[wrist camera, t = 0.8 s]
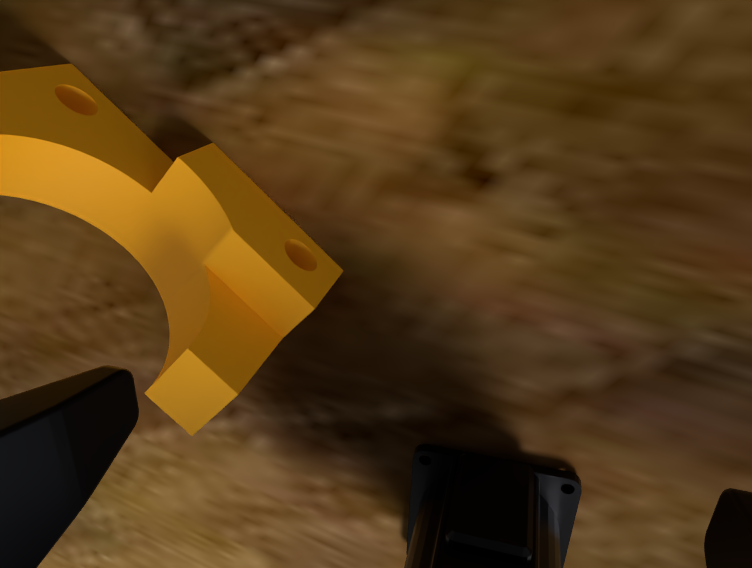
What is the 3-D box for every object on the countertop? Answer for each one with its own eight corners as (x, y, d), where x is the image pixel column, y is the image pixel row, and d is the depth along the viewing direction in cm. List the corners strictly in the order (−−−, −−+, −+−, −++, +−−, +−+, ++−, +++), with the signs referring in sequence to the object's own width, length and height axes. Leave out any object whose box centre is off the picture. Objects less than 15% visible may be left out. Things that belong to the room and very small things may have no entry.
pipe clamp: (344, 269, 21) (273, 362, 16) (276, 332, 23) (192, 436, 18) (95, 23, 20) (-83, 30, 14) (46, 115, 22) (-128, 152, 16)
